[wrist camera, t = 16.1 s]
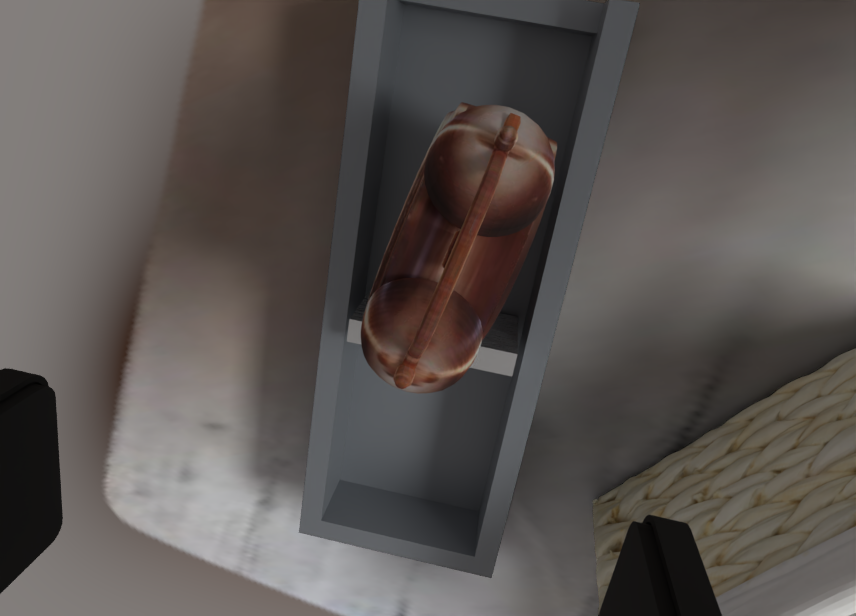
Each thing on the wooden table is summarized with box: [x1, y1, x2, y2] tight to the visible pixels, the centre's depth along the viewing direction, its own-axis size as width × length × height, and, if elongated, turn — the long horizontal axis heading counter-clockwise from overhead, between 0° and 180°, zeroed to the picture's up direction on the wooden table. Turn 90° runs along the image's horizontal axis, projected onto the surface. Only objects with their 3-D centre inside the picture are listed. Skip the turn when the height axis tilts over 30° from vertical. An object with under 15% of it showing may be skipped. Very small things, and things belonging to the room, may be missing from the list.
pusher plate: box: [347, 289, 518, 376], centre depth 33 cm, size 8×1×5 cm, turn 80°
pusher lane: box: [299, 0, 640, 578], centre depth 33 cm, size 12×30×5 cm, turn 170°
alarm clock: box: [361, 102, 557, 394], centre depth 26 cm, size 11×5×15 cm, turn 158°
